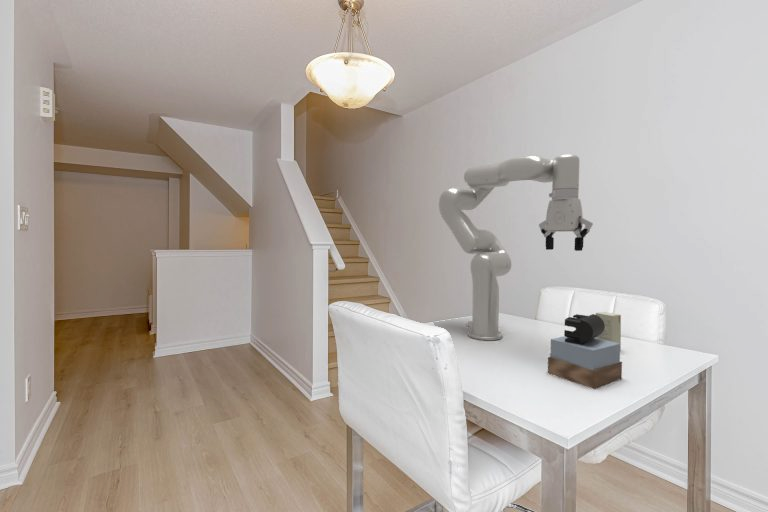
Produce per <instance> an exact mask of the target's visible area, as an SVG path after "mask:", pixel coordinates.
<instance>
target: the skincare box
mask: <svg viewBox="0 0 768 512" xmlns="http://www.w3.org/2000/svg"><path fill="white" fill-rule="evenodd" d="M595 315H597V316H599V317H600V318H601V319H602V320H603V322H604V325H605V328H604V331H603V333H602V334H600V335H598V336H597V337H596V338H598V339H602V340H606V341H611V342H615V343H619V344H620V352H621V348H622V347H621V344H622V343H621V340H622V338H621V337H622V336H621V334H622V333H621V332H622V331H621V329H622V326H621V325H622V322H621V321H622V320H621V319H622V316H621V315H622V314H618V313H613V312H607V311H601V312H600V311H599V312H598V311H597V312H595Z"/></svg>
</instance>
